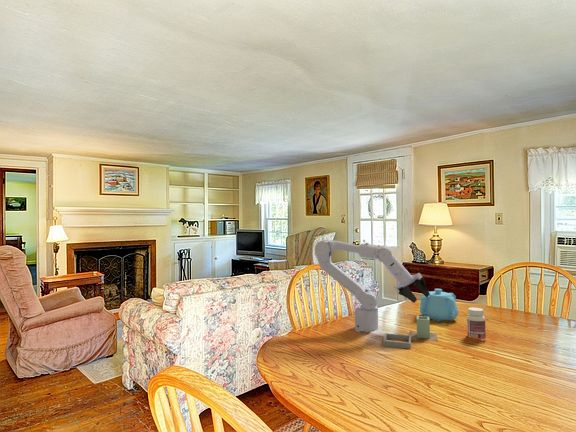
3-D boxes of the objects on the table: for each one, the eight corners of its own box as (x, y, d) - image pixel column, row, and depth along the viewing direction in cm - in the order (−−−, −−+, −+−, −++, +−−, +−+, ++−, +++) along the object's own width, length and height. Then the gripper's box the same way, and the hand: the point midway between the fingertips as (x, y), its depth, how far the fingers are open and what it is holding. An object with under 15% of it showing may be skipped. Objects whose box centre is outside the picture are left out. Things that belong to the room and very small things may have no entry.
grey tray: (383, 348, 130) (382, 341, 130) (385, 339, 139) (385, 333, 139) (410, 350, 127) (410, 343, 127) (411, 342, 136) (411, 335, 136)
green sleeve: (417, 337, 138) (416, 319, 139) (417, 333, 143) (416, 315, 143) (429, 338, 137) (429, 319, 137) (429, 334, 141) (429, 316, 141)
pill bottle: (489, 341, 136) (488, 310, 136) (474, 342, 135) (473, 311, 135) (478, 335, 142) (478, 306, 142) (464, 336, 141) (463, 307, 141)
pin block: (409, 341, 137) (409, 329, 137) (409, 333, 146) (409, 322, 146) (438, 343, 133) (437, 332, 133) (436, 335, 143) (436, 324, 143)
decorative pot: (415, 320, 165) (414, 290, 165) (424, 312, 178) (424, 284, 178) (454, 325, 155) (453, 294, 156) (461, 317, 169) (460, 287, 169)
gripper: (415, 260, 146) (438, 287, 143) (393, 273, 157) (414, 298, 155) (406, 269, 141) (430, 297, 139) (384, 281, 153) (406, 308, 150)
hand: (421, 298), depth 147 cm, fingers open, 7 cm apart
